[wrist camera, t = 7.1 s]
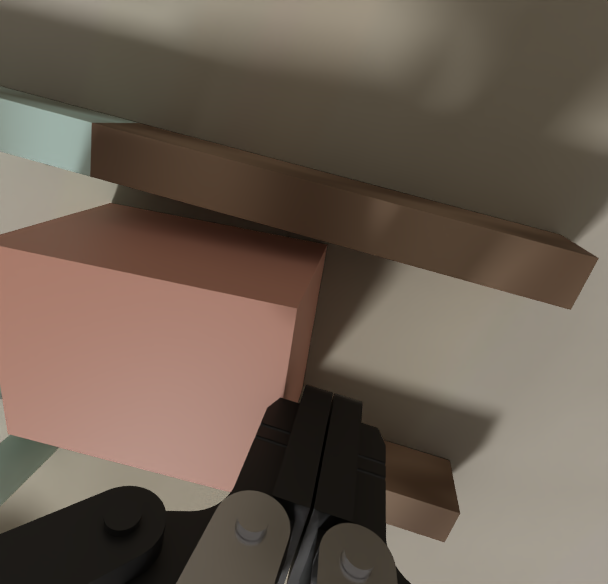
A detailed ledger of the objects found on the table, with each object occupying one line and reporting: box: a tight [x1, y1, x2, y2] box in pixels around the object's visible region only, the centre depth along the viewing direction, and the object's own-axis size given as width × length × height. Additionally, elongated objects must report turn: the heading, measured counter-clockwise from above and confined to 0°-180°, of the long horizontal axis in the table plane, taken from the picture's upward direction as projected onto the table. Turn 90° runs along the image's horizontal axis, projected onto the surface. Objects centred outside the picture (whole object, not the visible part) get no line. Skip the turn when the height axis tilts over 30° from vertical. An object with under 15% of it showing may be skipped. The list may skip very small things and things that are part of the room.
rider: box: [0, 203, 327, 492], centre depth 14 cm, size 8×6×6 cm
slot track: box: [0, 86, 599, 542], centre depth 14 cm, size 27×11×4 cm, turn 77°
